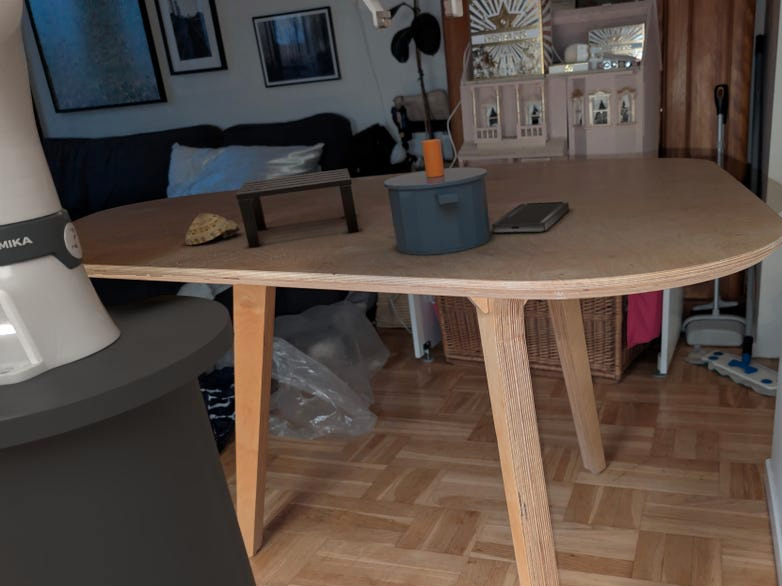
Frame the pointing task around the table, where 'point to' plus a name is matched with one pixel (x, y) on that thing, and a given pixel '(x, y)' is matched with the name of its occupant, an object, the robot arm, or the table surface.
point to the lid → (434, 172)
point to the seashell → (209, 228)
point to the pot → (440, 218)
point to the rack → (256, 189)
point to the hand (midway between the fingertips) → (418, 22)
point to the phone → (530, 217)
